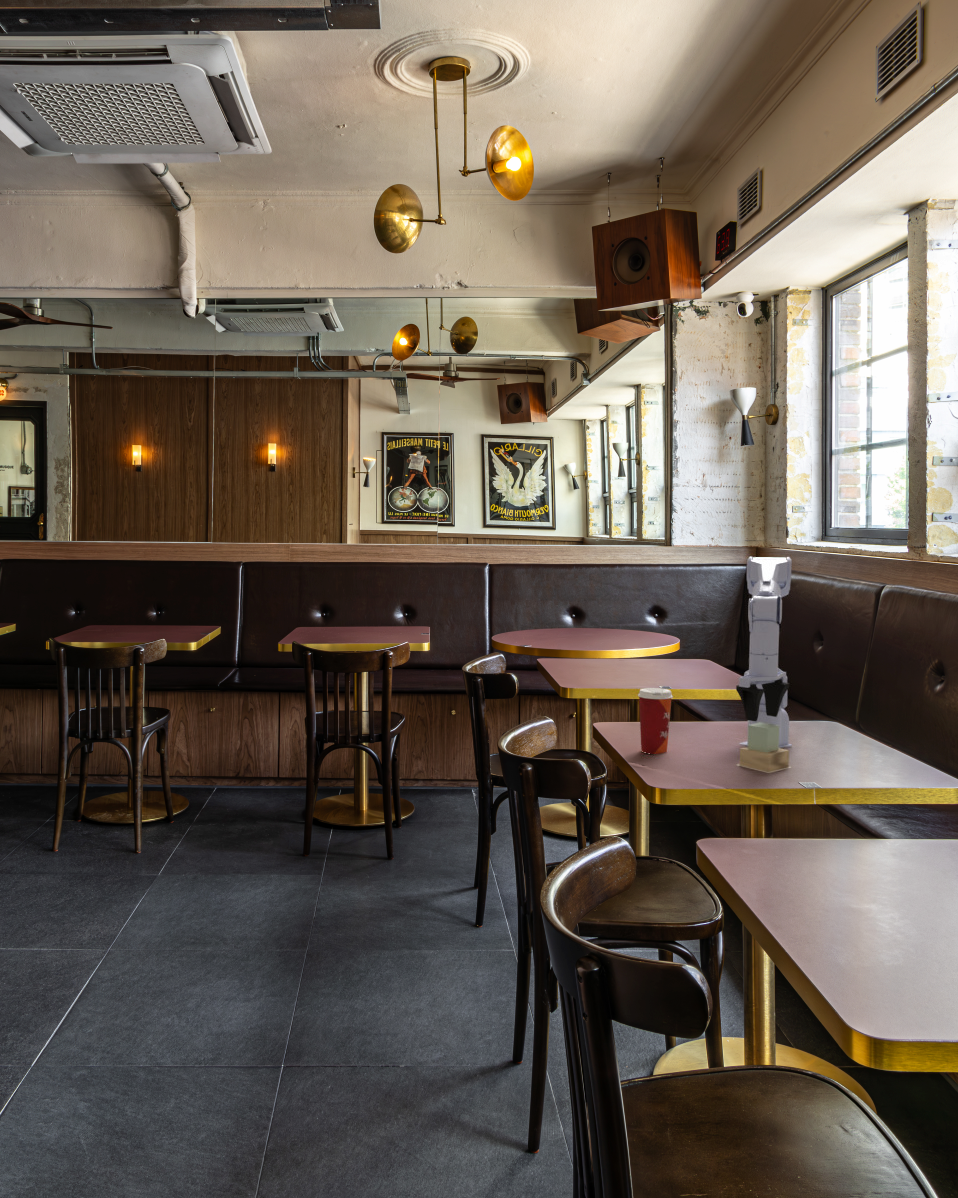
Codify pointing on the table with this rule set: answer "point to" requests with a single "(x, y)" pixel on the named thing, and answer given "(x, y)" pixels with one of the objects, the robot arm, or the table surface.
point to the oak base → (764, 759)
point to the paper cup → (654, 719)
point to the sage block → (763, 737)
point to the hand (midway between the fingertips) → (761, 718)
